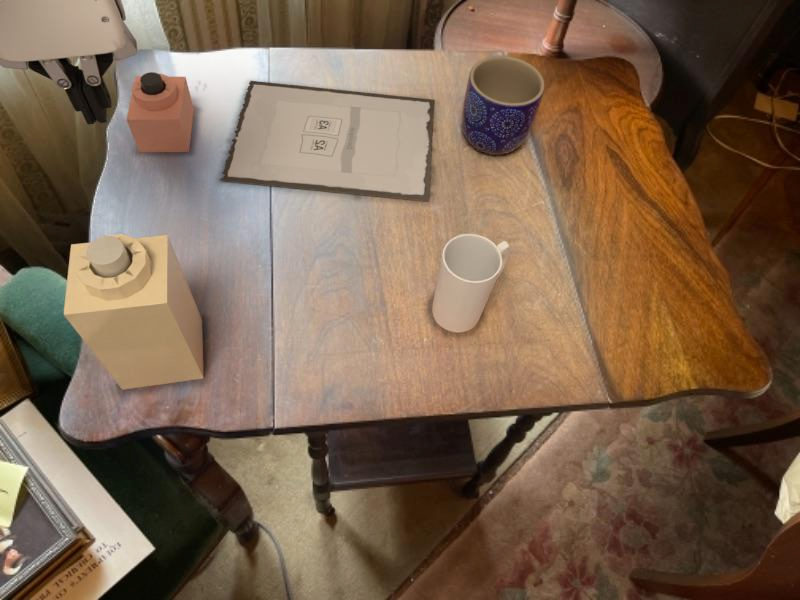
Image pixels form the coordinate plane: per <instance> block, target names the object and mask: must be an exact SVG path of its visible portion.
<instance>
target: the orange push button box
mask: <svg viewBox="0 0 800 600" xmlns="http://www.w3.org/2000/svg"><path fill="white" fill-rule="evenodd" d="M158 74H159V75H160V76H161V78H162V81H163V84H164V91H163V92H162V93H160V94H157V95H147V94H146V93H145V92H144V90H143V87H142V84H141V82H140V78H141V77H142V75H139V76H137V75H135V78H134V82H133V83H132V86H131V97H130V101H129V106H128V110H127V115H126V122H127V125H128V127H129V129H130V132H131V134H132V137H133V139H134V142H135V145H136V147H137V150H138V153H189V152H190V148H191V147H190V146H191V138H192V133H193V131H192V130H193V124H194V118H195V117H194V116H195V107H194V103H193V100H192V96H191V92H190V88H189V85H188V81H187V77H186V76H170V75H166V74H163V73H158Z"/></svg>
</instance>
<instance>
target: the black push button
mask: <svg viewBox="0 0 800 600" xmlns="http://www.w3.org/2000/svg"><path fill="white" fill-rule="evenodd" d="M159 74H160V73H158V72H155V71H154V72H153V71H152V72H146V73H144V74H142V75H141V76H142V77H141V78H140V82H141V84H142V87H143V90H144V92H145V93H146V94H147V95H157V94H160V93H162V92H163V91H164V84H163V81H162V78H161V76H160V75H159Z"/></svg>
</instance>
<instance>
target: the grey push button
mask: <svg viewBox="0 0 800 600" xmlns="http://www.w3.org/2000/svg"><path fill="white" fill-rule="evenodd" d="M103 236H104V237H102V236H100V237H98V238H96V239H94V240H92V241H93V242H92V241H91V242H92V243H91V244H90V245H89V246H88V248H87V251H86V255H87V258H88V260H89V261H90V263H91V265H92V266H93V268H94V269H95V271H96V272H97V273H98V274H99V275H101V276H104V277H114V276H117V275H120V274H122V273H123V272H124V271H126V269H127V268H128V267H129V265H130V256H129V254H128V252H127V250H126V248H125V246H124V244H123V243H122V241H121V240H120V239H118V238H116V237H113V236H105V235H103Z"/></svg>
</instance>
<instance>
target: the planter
mask: <svg viewBox="0 0 800 600" xmlns="http://www.w3.org/2000/svg"><path fill="white" fill-rule="evenodd" d="M545 87H546V85H545V79H544V77H543V76H542V74H541V73H540V71H539V70H538V69H537V68H536V67H535V66H534V65H532V64H530V63H529V62H527V61H525V60H523V59H522V58H517V57H513V56H509V55H493V56H488V57H485V58H482V59H480V60H479V61H477V62H476V63H475V64H474V65H473V66H472V67H471V69H470V72H469V75H468V78H467V83H466V88H465V93H464V98H463V104H462V111H461V130H462V132H463V135H464V137H465V138H466V140H467V141H468V143H469V144H470V145H471V146H472V147H473V148H474V149H475V150H477V151H480V152H481V153H484V154H487V155H491V156H499V155H505V154H508V153H511V152H513V151H515V150H516V149H518V148H519V147H520V146H521V145H522V144H523V143H524V142H525V141H526V139H527V138H528V135H529V134H530V131H531V129H532V127H533V125H534V122H535V119H536V117H537V114H538V112H539V109H540V105H541V102H542V99H543V97H544V92H545V89H546V88H545Z"/></svg>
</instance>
